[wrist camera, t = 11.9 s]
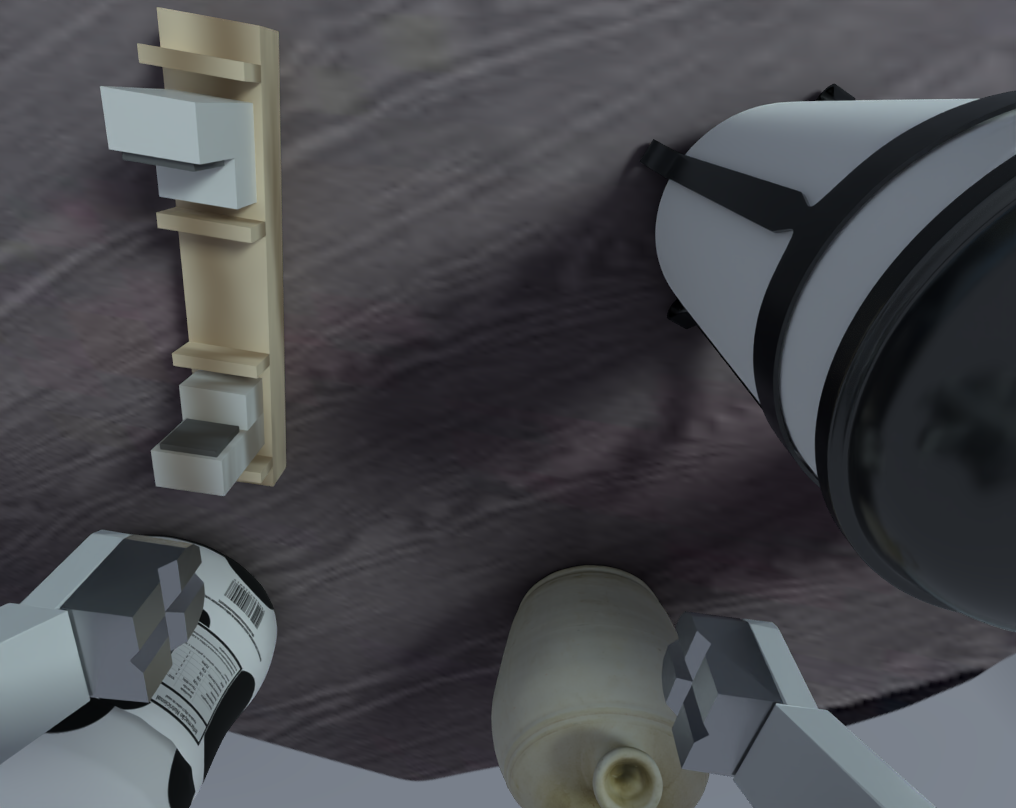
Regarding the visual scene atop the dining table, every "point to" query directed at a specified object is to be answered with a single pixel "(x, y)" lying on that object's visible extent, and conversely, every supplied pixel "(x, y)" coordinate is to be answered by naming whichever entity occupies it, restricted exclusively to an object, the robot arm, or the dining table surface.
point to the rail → (227, 272)
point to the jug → (589, 697)
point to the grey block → (186, 142)
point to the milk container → (157, 712)
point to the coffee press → (869, 317)
